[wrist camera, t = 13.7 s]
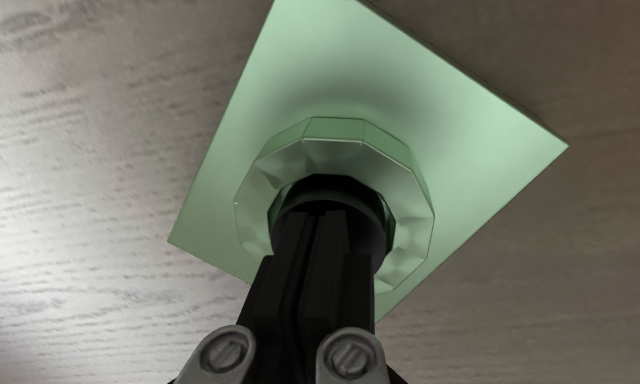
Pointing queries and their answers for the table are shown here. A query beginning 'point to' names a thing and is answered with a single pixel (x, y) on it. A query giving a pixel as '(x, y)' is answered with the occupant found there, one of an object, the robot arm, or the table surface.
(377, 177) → the button box
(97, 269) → the table surface
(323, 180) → the button
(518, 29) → the table surface
